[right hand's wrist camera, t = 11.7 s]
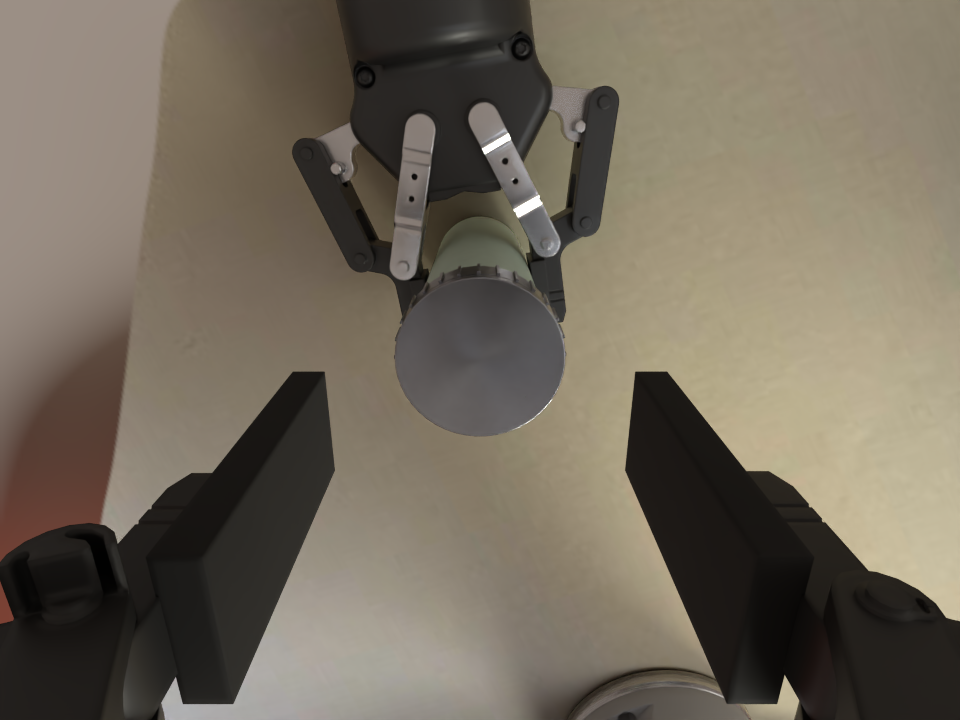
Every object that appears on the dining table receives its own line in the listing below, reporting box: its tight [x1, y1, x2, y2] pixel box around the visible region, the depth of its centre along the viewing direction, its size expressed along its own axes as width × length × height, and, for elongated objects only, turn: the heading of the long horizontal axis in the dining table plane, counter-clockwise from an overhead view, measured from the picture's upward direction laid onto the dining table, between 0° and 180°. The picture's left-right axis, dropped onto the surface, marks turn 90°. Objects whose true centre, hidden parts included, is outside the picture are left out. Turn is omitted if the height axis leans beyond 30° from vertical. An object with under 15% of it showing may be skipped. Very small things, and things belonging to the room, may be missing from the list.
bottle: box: [427, 217, 535, 286], centre depth 26 cm, size 5×5×16 cm
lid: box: [394, 263, 566, 436], centre depth 19 cm, size 6×6×2 cm
